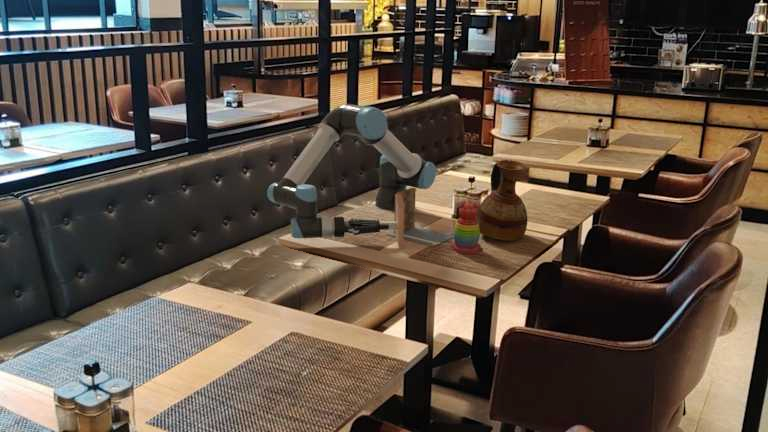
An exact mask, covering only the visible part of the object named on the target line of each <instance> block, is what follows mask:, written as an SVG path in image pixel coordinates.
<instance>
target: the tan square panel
mask: <svg viewBox="0 0 768 432" xmlns="http://www.w3.org/2000/svg"><path fill="white" fill-rule="evenodd" d="M395 197H396V219H395V218H394V220H395V221H397V230H395V235H396V237H395V238H396V242H397V244H398V248H404V239H403V231H404V208H405V205H404V202H403V199H402V196H401V194H395Z"/></svg>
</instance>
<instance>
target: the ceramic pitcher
mask: <svg viewBox="0 0 768 432" xmlns="http://www.w3.org/2000/svg"><path fill="white" fill-rule="evenodd" d="M525 168H526V165H525V164H523V163H522V162H520V161H518V160H511V159H510V160H508V159H502V160H498V161H497V162H495V164H494V165H493V167H492V170H491V174H490V187H491V188H490V193H489V194H488V195H487V196H486V197H485V198H484V199H483V200H482V202H481V203H480V205H479V206H478V208H477V216H476V217H475V218H476V219H477V221H478V223H479V229H480V235H483V236H485V237H488V238H491V239H495V240H500V241H515V240H516V241H517V240H519V239H520V238H522V237H524V235H525V233H526V231H527V228H528V212H527V208H526V205H525V203H524V202H523V200H522V198H521V197H520V196H519V195H518V194H517V192H516V185H517V180H518V177H519V175H520V173H521V172H522V171H523V170H525Z"/></svg>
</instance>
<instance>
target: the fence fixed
mask: <svg viewBox="0 0 768 432" xmlns="http://www.w3.org/2000/svg"><path fill="white" fill-rule="evenodd" d="M416 191H417V188H415V187H409V188H406V190H404V191H401V192H397V194H401V196H402V199H403V202H404V205H405V208H404V231H407V230H409V229H412V228H414V227H416V226H415V225H416V224H415V221H416V220H415V219H416V193H417V192H416ZM395 219H396V197H395V209H394V220H393V222H395ZM393 231H394V234H395V230H393ZM404 231H403V232H404Z"/></svg>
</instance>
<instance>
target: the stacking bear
mask: <svg viewBox="0 0 768 432" xmlns="http://www.w3.org/2000/svg"><path fill="white" fill-rule="evenodd" d="M478 209H479V205H478V204H477V203H472V202H465V203H462V202H461V203H460V204H459V208H458V214H459V218H457V221H456V223H455V225H454V230H453V236H454V238H453V239H454V241H453V242H452V243H451V246H450V247H451V249H452V250H453V251H454V252H456V253H458V254H460V255H473V254H476V253H479V252H480V251H481V249H482V246H481V243H479V241H480V240H479V239H480V236H481V233H480V229H479V223H478V221H477V219H476V216H477V211H478Z"/></svg>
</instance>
